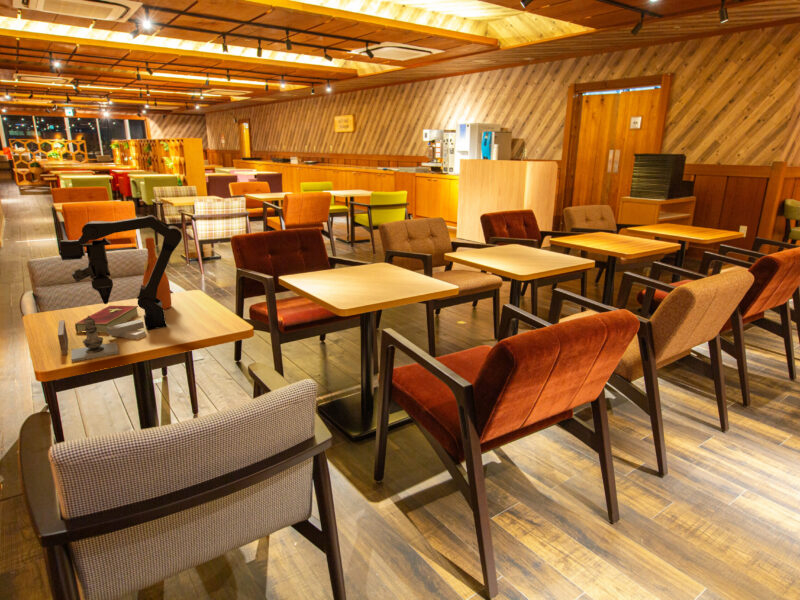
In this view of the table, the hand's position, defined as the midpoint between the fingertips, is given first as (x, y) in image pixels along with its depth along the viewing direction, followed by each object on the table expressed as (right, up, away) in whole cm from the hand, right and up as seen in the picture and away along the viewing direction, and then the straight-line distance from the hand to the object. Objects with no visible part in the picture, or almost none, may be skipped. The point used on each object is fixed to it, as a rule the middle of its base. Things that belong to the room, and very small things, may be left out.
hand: (105, 300), depth 178 cm
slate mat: (+6, -17, -15) cm, 24 cm away
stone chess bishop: (+6, -16, -15) cm, 23 cm away
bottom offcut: (+8, -13, +1) cm, 16 cm away
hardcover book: (-6, -9, +13) cm, 17 cm away
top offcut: (+8, -11, 0) cm, 13 cm away
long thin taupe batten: (-8, -16, -10) cm, 20 cm away
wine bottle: (+5, -3, +30) cm, 31 cm away
